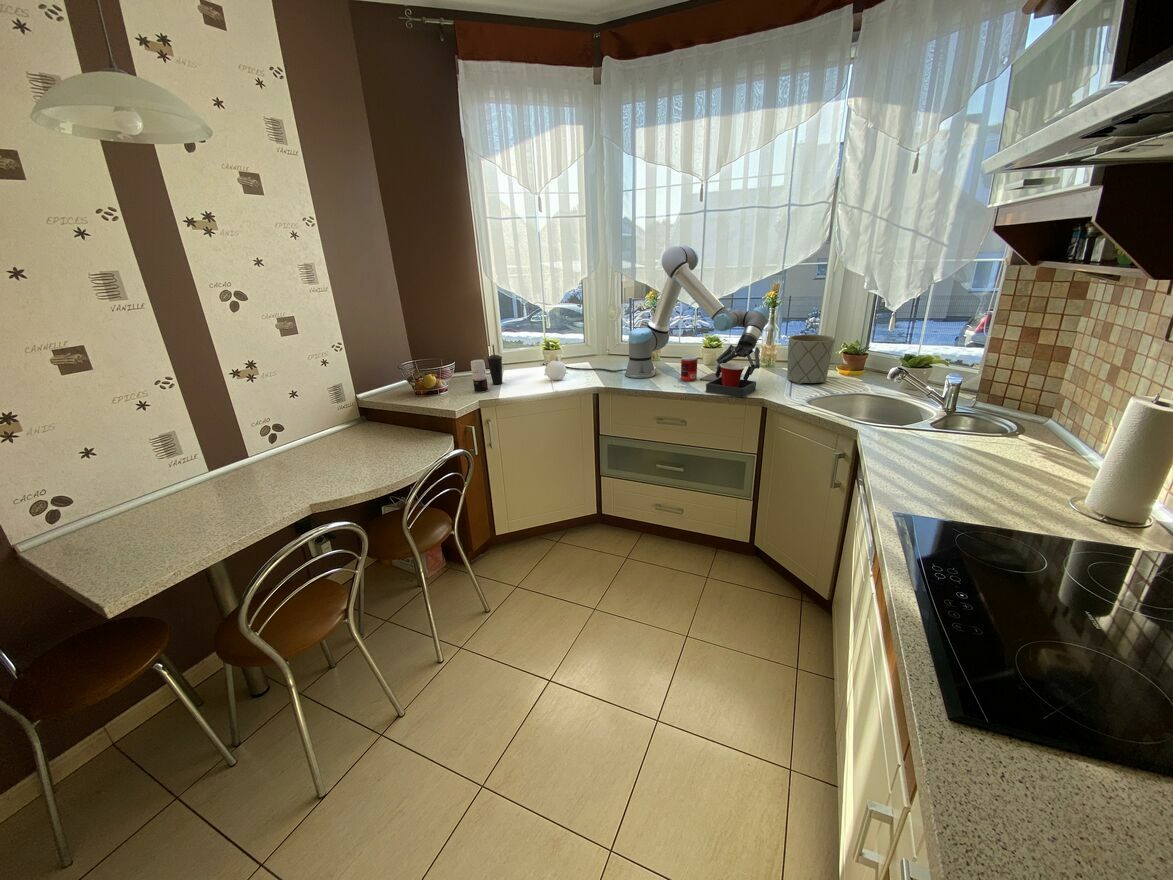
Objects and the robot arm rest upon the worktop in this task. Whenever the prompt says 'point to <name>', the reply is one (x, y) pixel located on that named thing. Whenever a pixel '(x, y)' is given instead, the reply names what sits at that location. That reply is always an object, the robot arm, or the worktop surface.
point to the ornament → (556, 369)
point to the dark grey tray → (731, 388)
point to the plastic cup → (731, 374)
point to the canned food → (688, 368)
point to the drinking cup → (495, 368)
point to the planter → (809, 358)
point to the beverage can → (479, 376)
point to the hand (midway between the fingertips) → (730, 378)
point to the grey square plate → (710, 377)
